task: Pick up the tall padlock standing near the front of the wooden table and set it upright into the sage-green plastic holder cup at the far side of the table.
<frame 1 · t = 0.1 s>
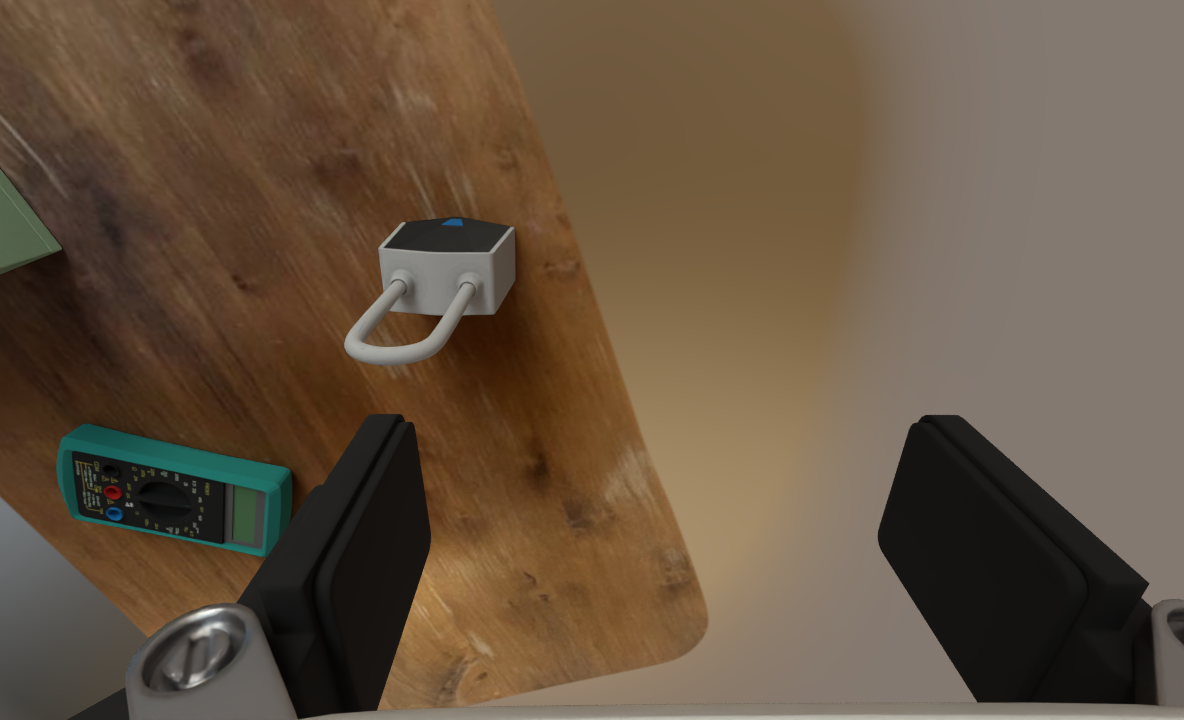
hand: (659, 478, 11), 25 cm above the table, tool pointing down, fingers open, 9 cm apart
digital multimeter: (195, 479, 42), on the table
padlock: (460, 250, 35), on the table
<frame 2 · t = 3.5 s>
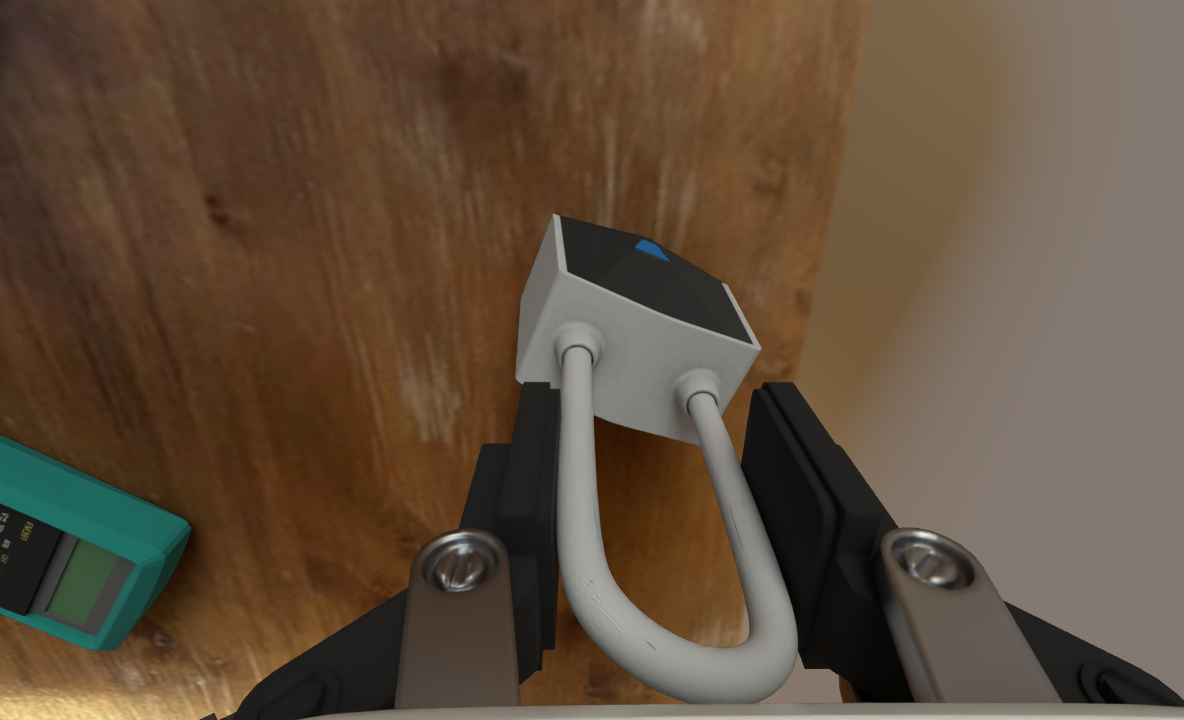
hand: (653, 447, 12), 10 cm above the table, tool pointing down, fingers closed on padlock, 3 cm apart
digital multimeter: (11, 490, 24), on the table
padlock: (623, 289, 21), on the table, touching gripper
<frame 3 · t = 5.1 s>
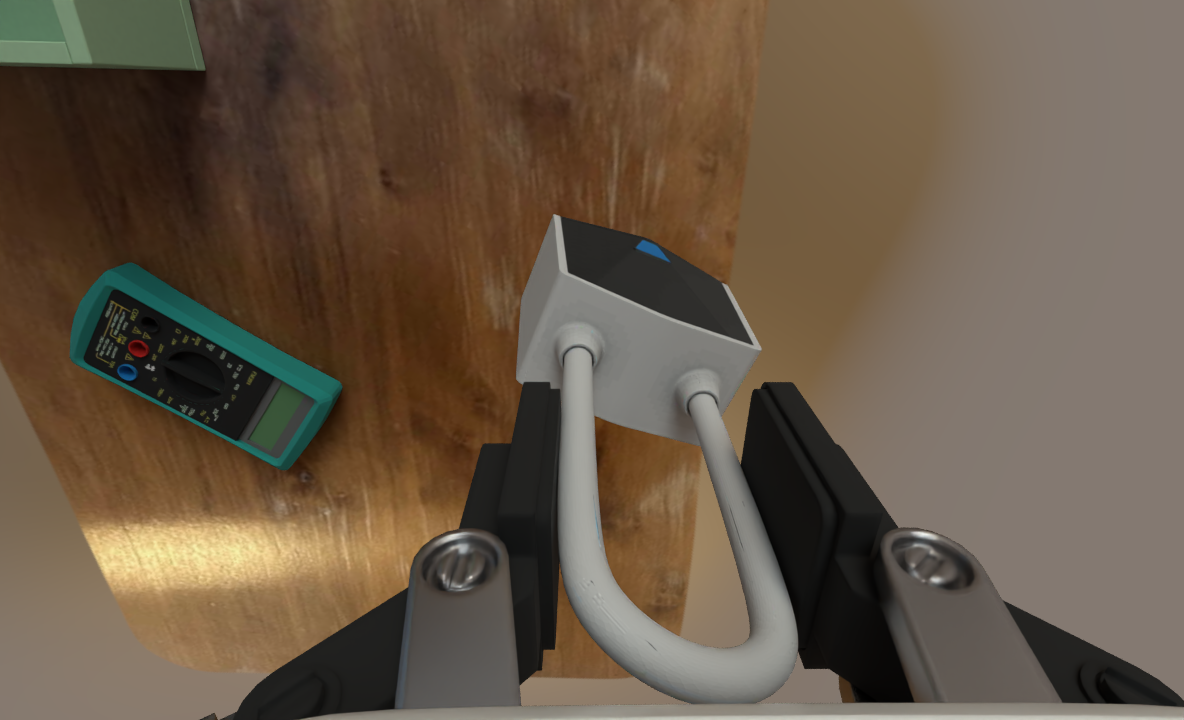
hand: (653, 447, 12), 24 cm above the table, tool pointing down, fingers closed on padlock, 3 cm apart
digital multimeter: (226, 362, 37), on the table
padlock: (623, 290, 21), point 14 cm above the table, touching gripper
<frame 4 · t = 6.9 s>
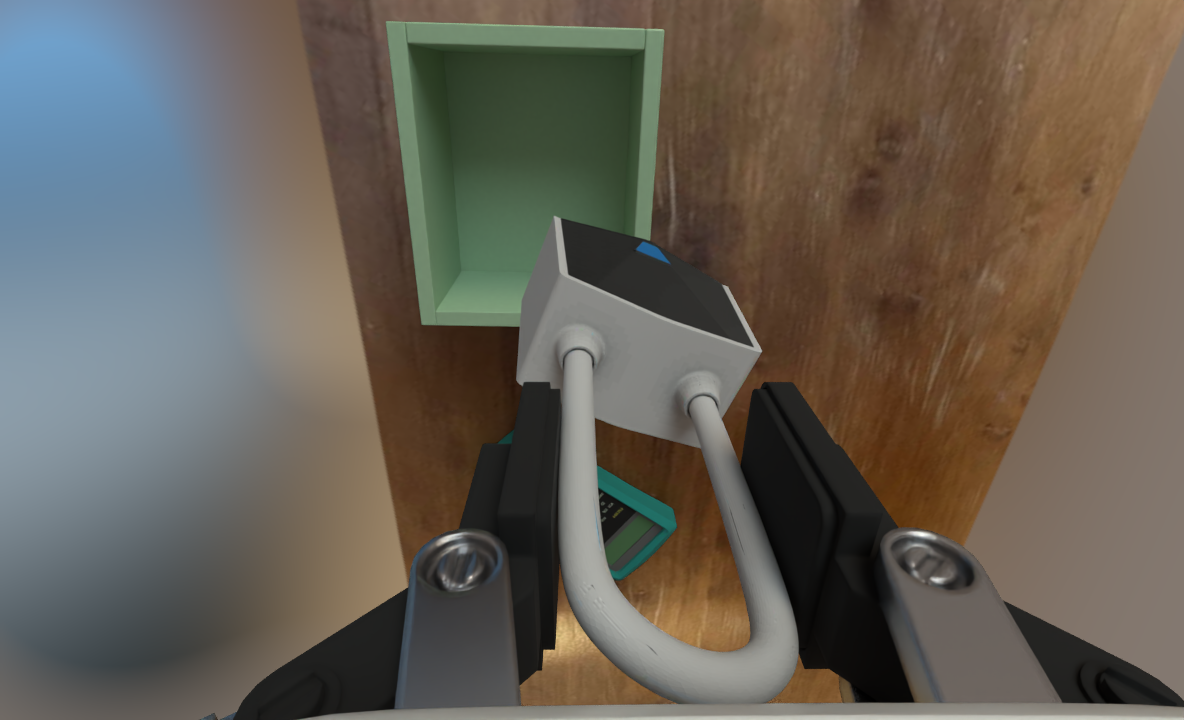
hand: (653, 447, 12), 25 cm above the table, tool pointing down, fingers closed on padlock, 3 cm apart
digital multimeter: (576, 491, 44), on the table
padlock: (624, 291, 21), point 16 cm above the table, touching gripper
holder: (540, 170, 34), on the table
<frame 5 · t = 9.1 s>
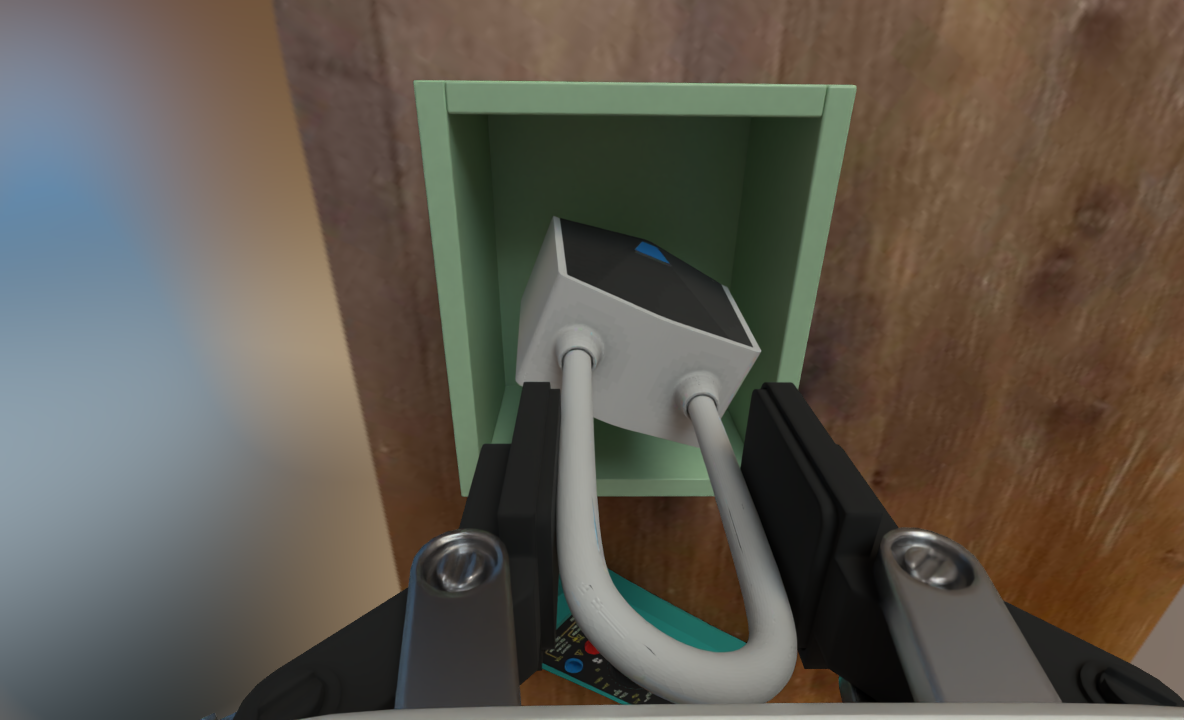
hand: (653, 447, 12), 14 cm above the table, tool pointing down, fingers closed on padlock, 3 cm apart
digital multimeter: (641, 630, 35), on the table
padlock: (623, 291, 21), point 5 cm above the table, touching gripper
holder: (614, 255, 25), on the table
when the fingers open (10 cm above the table, at t = 10.6 s): padlock stays where it is, resting on holder.
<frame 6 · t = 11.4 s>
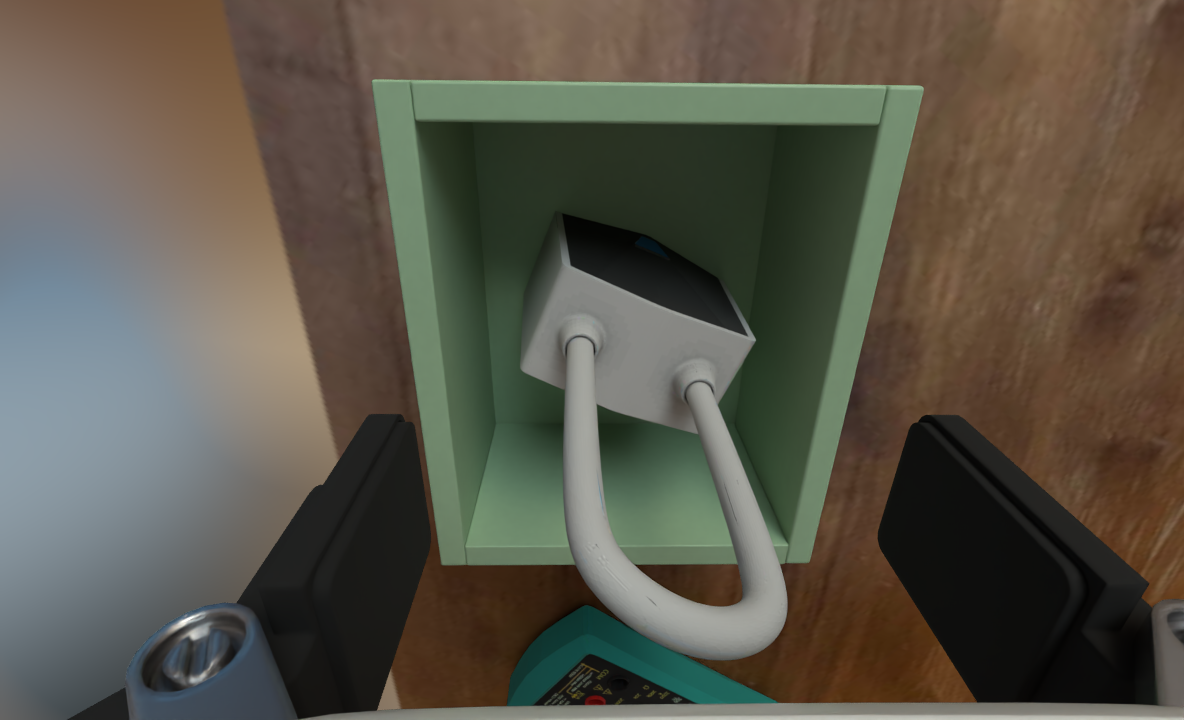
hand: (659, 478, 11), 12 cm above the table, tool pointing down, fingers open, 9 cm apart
digital multimeter: (646, 679, 33), on the table
padlock: (623, 285, 21), point 1 cm above the table, touching holder
holder: (618, 279, 22), on the table
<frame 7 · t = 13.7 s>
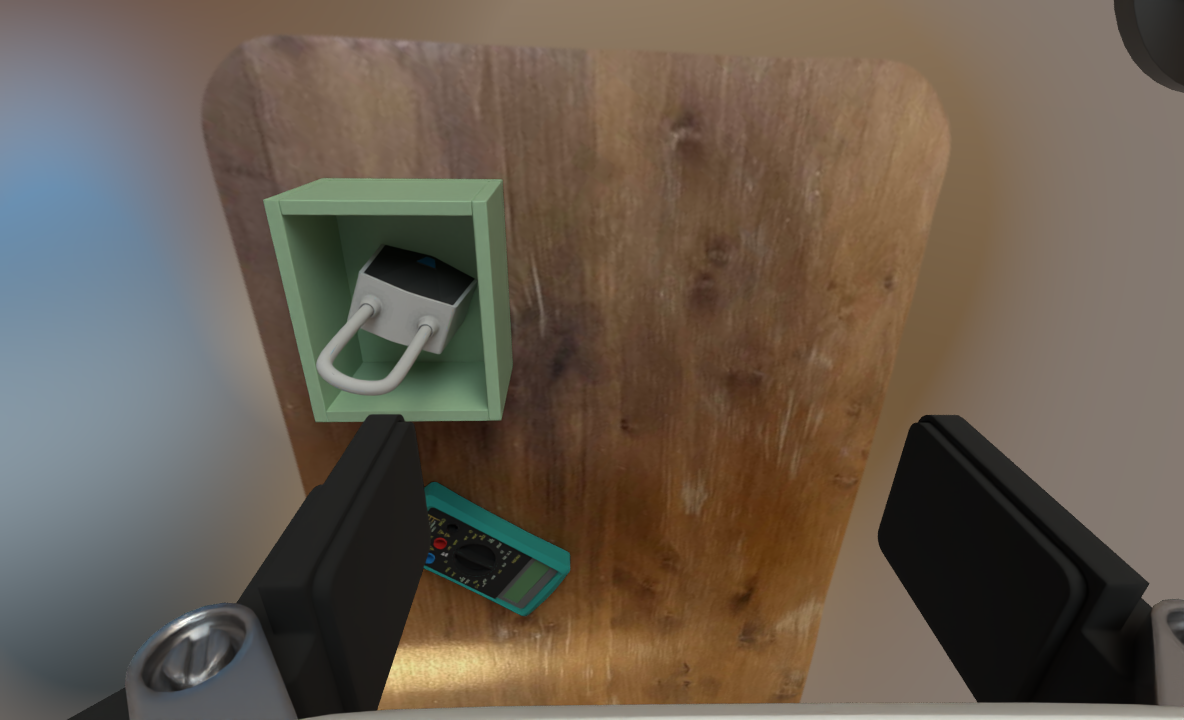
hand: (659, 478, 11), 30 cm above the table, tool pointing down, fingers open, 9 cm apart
digital multimeter: (483, 538, 50), on the table
padlock: (424, 282, 39), point 1 cm above the table, touching holder
holder: (425, 279, 40), on the table
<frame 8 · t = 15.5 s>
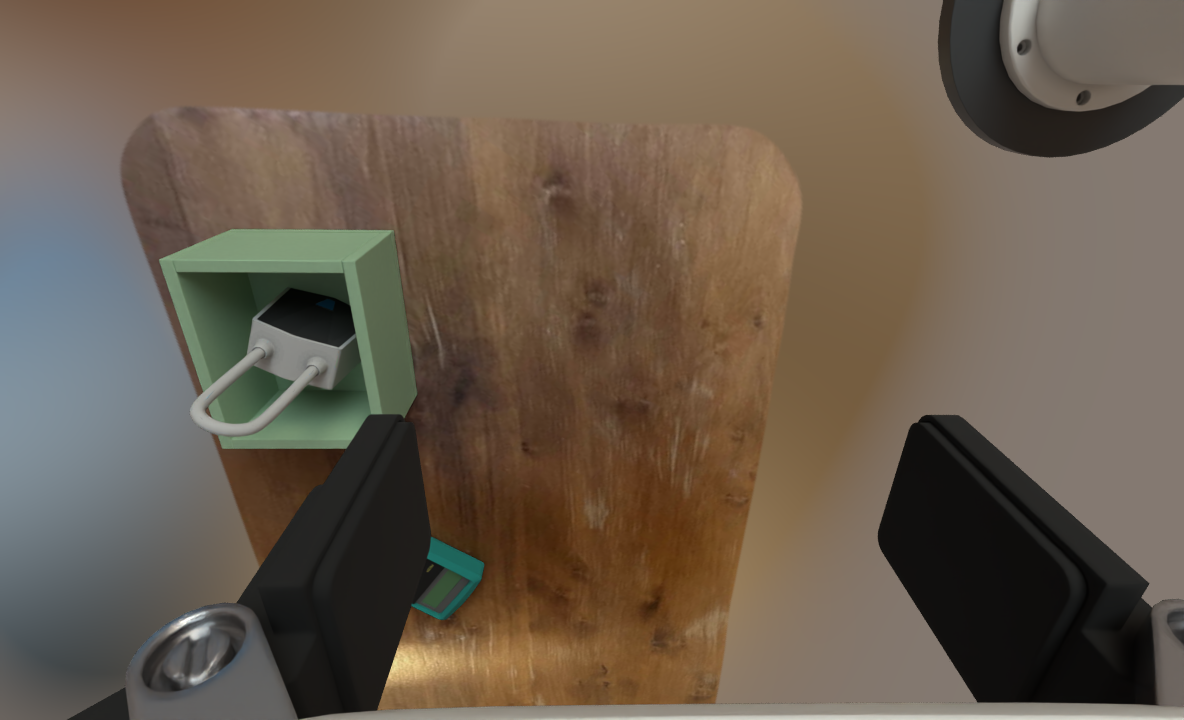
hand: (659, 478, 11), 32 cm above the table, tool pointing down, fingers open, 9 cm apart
digital multimeter: (404, 548, 55), on the table
padlock: (329, 320, 43), point 1 cm above the table, touching holder
holder: (331, 317, 44), on the table
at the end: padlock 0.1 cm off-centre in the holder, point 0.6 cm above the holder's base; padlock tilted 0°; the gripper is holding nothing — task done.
